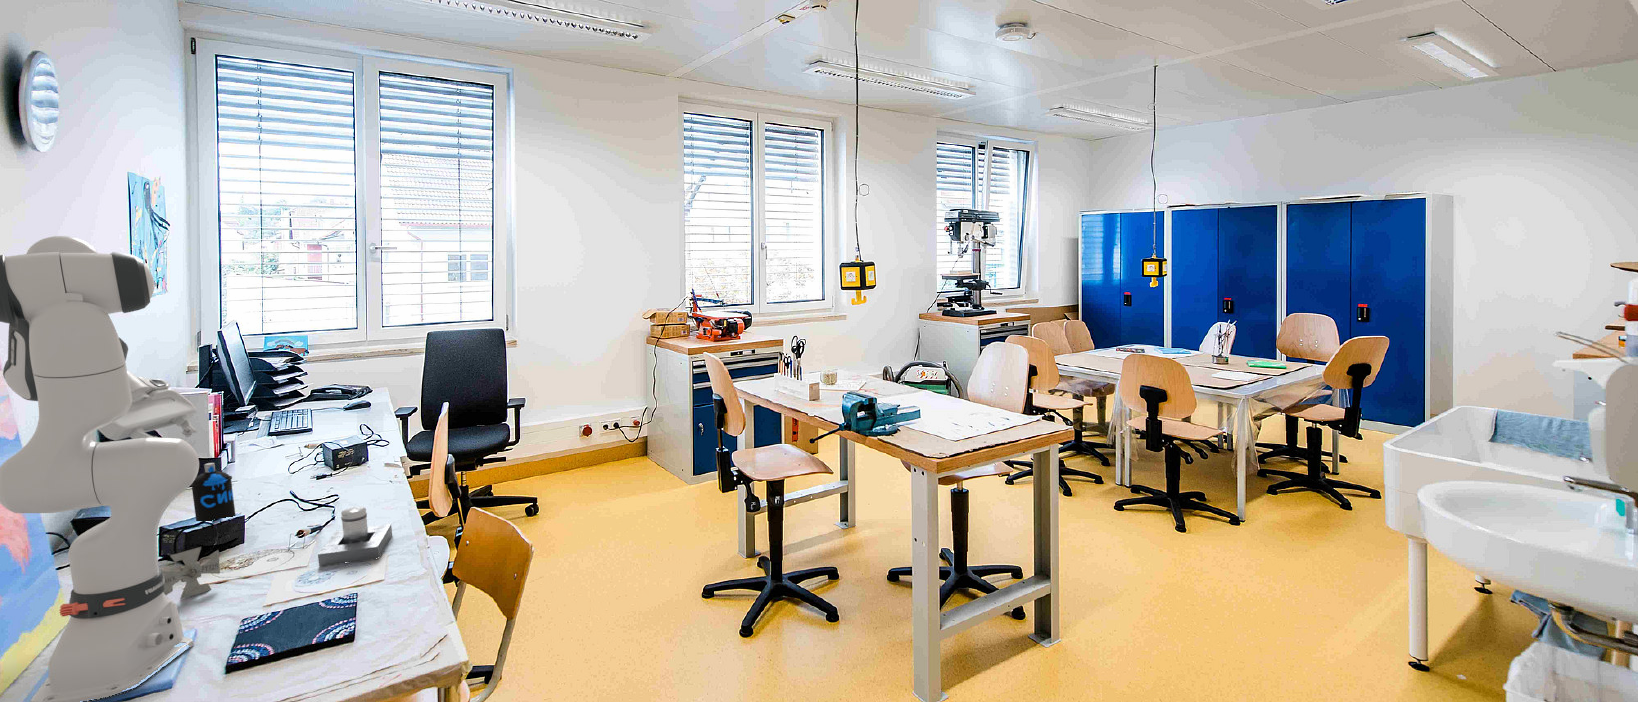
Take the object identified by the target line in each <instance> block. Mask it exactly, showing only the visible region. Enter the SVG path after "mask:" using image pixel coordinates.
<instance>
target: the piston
mask: <svg viewBox="0 0 1638 702" xmlns="http://www.w3.org/2000/svg"><path fill="white" fill-rule="evenodd" d="M367 517H368V513H367V509H366V507H363V506H360V507H359V506H357V507H351V508H347V509H344V510H342V511H341V517H340V519H341V522H342V523H341V524H342V530H343V536H344V544H351V543H359V542H367V541H369V539H368V528H367V527H368V519H367Z"/></svg>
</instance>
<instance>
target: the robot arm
mask: <svg viewBox="0 0 1638 702" xmlns="http://www.w3.org/2000/svg"><path fill="white" fill-rule="evenodd" d="M154 290H155V281H154V276H153V274H152V272H151V270H150V269H149V267H147V265H146V264H145V263H144V261H143V259H141V258H139V257H137V256H135V255H134V254H129V253H123V252H122V253H121V252H115V251H112V252H111V253H99V252H98V251H97V249H95V248H94V247H93V246H92V245H91V244H89V243H88V242H86V241H84V240H82V239H80V238H76V237H73V236H66V235H57V236H56V235H55V236H49V237H44V238H43V239H40V240H37V241H36V242H34V243H33V244H32V245H31V246H30V247H29V248H28V250H27V252H26V254H17V255H9V256H5V254H0V322H1V323H5V324H8V341H7V342H8V343H7V345H8V346H7V347H8V348H7V360H6V361H5V363H4V367H3V372H2V375H3V376H2V377H3V378H4V381H5V382H6V384H7V386H8V387H9V388H10V389H11V390H12V391H13V392H14V393H15V394H17V395H18V396H19V397H21V398H22V399H24V400H26V401H31V402H38V403H37V404H38V420H37V425H36V428H35V431H34V432H33V434H32V436H31V438H30V440H28V441H27V443H26V444H25V445H24V446H23V447H22V448H21V449H20V450H19V451H17V452H16V453H14V454H13V455H11V456H10V457H8V459H6V460H5V461H3V462H2V464H1V465H0V505H1V506H2V507H4V508H5V509H6V510H8V511H10V512H12V513H15V514H55V513H63V512H71V511H77V510H82V509H91V508H97V507H109V508H110V517H109V518H108V519H106V520H105V521H102V522H100V523H98V524H96V525H95V526H93V527H91V528H89V529H87V530H86V531H85V532H83V533H81V534H80V535H79V536H77V537H76V538H75V539H74V540H73V542H72V543H71V545H70V547H69V549H68V552H67V555H68V563H69V570H70V574H71V580H72V581H71V582H72V590H70V598H69V600H68V603H63V604H61V606H60V607H59V608H60V609H59V614H60V616H61V617H67V616H68V617H69V616H70V618H69V620H68V623H67V624H66V627H65V628H64V630H63V632H62V633H61V635H60V638H59V640H58V642H57V644H56V646H55V648H54V650H53V652H52V654H51V656H50V657H49V660H48V677H47V678H46V679H45V681H44V682H43V683H42V684H41V686H40V687H39V689H37V691H36V692H35V693H34V695H33V696H32V698H30V702H80V701H87V700H91V699H97V700H100V698H102V699H105V697H106V698H109V696H110V697H113V696H112V695H114V696H116V695H115V694H117V693H120V692H122V691H123V690H126V689H127V688H131V687H132V686H134V685H136V684H139V682H141V680H143V679H145V678H146V677H147V676H148V675H151V674H152V673H153V672H154V671H156V670H158V668H159V667H160V666H162V665H163V664H164V663H165V662H166V661H168V660H169V659H170V658H171V657H173V656H174V655H175V654H176V653H177V652H178V651H179V650H180V649H181V648H183V647H185V646H187V645H189V646H190V648H192V647H193V646H194V644H195V642H194V639H192V638H190V637H185V635H184V632H183V627H182V623H181V619H180V614H179V610H178V605H177V603H176V602H175V601H173V600H171V599H170V598H169V597H168V595H165V594H164V592H163V591H164V590H165V579H164V576H163V572H162V571H163V570H162V569H160V567H159V560H158V559H159V558H158V543H157V540H158V538H157V537H158V527H159V525H160V522H161V519H162V517H163V514H164V513H165V512H166V510H167V508H168V507H169V506H170V505H171V504H172V502H174V500H175V499H176V498H177V497H178V496H179V495H181V494H182V493H183V492H185V491H186V490H187V489H188V488H189V487H190V486H191V484H192V483H193V481H194V480H195V478H196V477H197V476H198V473H199V469H200V460H199V456H198V453H197V452H196V450H195V449H194V447H193V446H192V445H191V444H190V443H189V442H187V441H186V440H184V439H182V438H177V437H176V438H174V437H158V436H157V435H151V434H148V433H149V432H152V431H155V430H159V429H163V428H167V427H170V426H174V425H176V426H178V427H179V428H180V427H181V428H182V432H181V434H182V435H184V436H185V437H186V438H191V437H193V436H195V435H196V434H197V432H198V430H197V429H196V428H195V427H194V426H193V424H192V422H191V419H192V418H193V417H194V416H195V414H196V413H197V407H196V405H194V403H192V402H191V401H190V400H189V399H187V397H186V396H184V395H183V394H182V393H180V392H179V391H177V390H175V389H173V388H170V387H171V384H170V383H169V382H168V381H167V380H165V379H159V378H147V377H143V376H142V377H141V376H137V375H136V374H135V373H133V372H131V371H130V370H128V369H127V364H126V360H127V357H128V352H129V346H128V344H127V343H126V342H125V341H124V340H123V339H122V338H121V337H119V335H118V333H117V330H116V328H115V324H114V323H113V320H112V319H111V316H110V315H111V314H116V313H121V312H122V313H123V314H127V313H133V312H137V311H140V310H144V309H146V308H147V306H148V305H149V304H150V303H151V298H152V296H153V294H154ZM97 430H98V431H99V432H100V433H101V434H102V435H104V437H105V438H107V439H109V440H113V441H104V442H100V441H94V440H93V437H92V434H93V432H95V431H97ZM126 438H130V439H126ZM179 643H186V644H185V645H183V646H180V647H174V646H175V645H177V644H179ZM120 694H121V693H120ZM117 695H118V694H117ZM103 697H104V698H103ZM87 702H88V701H87Z"/></svg>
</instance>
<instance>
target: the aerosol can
mask: <svg viewBox="0 0 1638 702" xmlns="http://www.w3.org/2000/svg"><path fill="white" fill-rule="evenodd" d="M215 464H216V463H215V462H208V463H205V464H203V466H204V472H203V473H200V474H199V475H197V476H196V478H195V480H194V481H193V483H192V484H191V485H190V486H191V490H192V499H193V506H194V514H195V522H196V521H212V520H214V519H219V518H226V517H233V516H236V507H235V499H234V493H233V492H234V491H233V484H232V480H233V476H232V475H229V474H228V473H227V472H223V471H217V470H216V465H215Z"/></svg>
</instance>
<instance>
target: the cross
mask: <svg viewBox="0 0 1638 702" xmlns="http://www.w3.org/2000/svg"><path fill="white" fill-rule="evenodd" d="M201 550H202V546H198V547H195V548H192V549H188V550H184V551H182V552H178V553H175V554H171V555H170V558H171V559H172V560H173V562H174V563H176V562H179V561H182V562H183V563H184V565H182V566H180V567H179V571H178V570H177V571H175V570H174V571H170V570H169V571H168V570H166V571H163V570H162V572H163V576H164V579H165V590H164V591H163V592H164V594H165V595H166V596H168V595H169V594H171V593H172V592H173V590H174V588H173V586H174V585H176V584H177V583H178V582H181V583H185V586H184V588H183V591H182V594H181V595H180V599H179V600H184V599H186V598H190V597H192V596H195V595H198V594H201V593H204V592H205V593H206V592H207V591H211V590H212V587H211V586H210V585H209V583H204V584H200V582H199V581H198V579H199V578H201V577H202V574H217V575H219V574H220V573H221V569H220V568H221V566H220V553H219V552H220V551H219V549H217V550H216V551H214V552H212V553H210V555H209V558H210V560H208V561H207V562H205V563H204V564H201V562H199V561H198V560H199V556H200V553H201Z"/></svg>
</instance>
